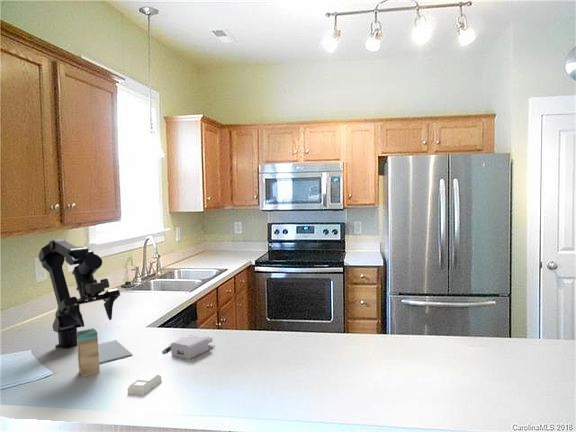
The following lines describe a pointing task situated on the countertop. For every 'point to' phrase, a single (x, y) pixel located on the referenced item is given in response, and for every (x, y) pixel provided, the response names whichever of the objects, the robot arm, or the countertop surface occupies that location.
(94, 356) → the oak block
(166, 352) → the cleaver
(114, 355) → the mat
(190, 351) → the charger
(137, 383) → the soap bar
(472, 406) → the countertop surface
